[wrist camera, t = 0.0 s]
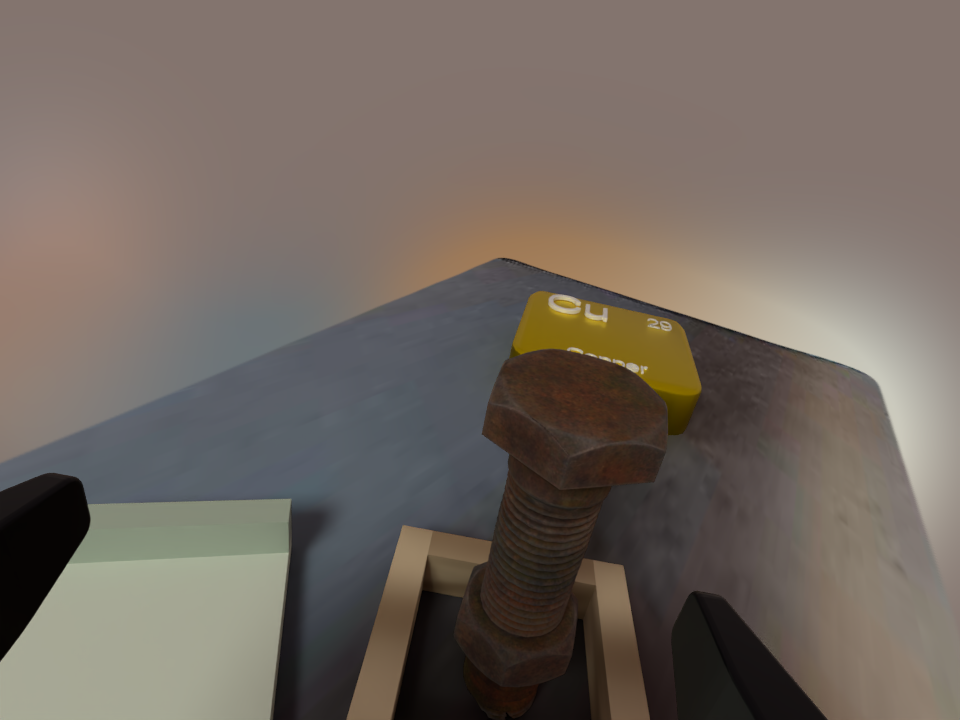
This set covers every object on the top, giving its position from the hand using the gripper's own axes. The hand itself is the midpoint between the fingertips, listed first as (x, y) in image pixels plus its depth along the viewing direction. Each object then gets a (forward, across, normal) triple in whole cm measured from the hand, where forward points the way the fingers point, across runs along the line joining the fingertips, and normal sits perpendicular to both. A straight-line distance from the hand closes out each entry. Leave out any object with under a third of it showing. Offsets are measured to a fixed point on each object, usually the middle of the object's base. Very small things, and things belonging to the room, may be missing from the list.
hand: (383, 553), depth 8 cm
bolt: (+9, -4, +17) cm, 19 cm away
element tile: (+39, -11, +17) cm, 44 cm away
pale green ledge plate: (+7, +10, +16) cm, 20 cm away
